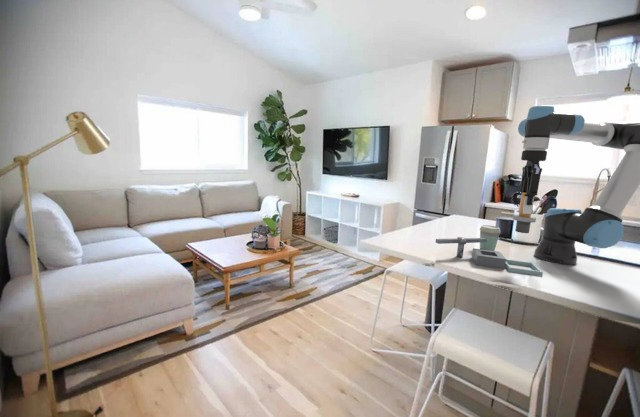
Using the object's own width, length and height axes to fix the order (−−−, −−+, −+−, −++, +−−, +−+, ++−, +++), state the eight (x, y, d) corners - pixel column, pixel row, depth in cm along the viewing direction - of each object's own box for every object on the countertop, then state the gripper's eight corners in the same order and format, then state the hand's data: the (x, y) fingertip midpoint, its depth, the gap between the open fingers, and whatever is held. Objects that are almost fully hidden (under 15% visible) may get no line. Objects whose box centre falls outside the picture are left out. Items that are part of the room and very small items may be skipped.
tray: (531, 268, 121) (532, 262, 120) (541, 278, 111) (543, 272, 110) (500, 264, 124) (501, 258, 124) (508, 273, 114) (509, 267, 113)
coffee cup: (500, 255, 136) (504, 230, 134) (479, 253, 137) (483, 228, 135) (493, 250, 144) (497, 225, 142) (474, 248, 146) (477, 224, 144)
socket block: (497, 262, 126) (499, 251, 125) (504, 271, 116) (506, 259, 115) (452, 256, 131) (453, 245, 130) (455, 264, 121) (456, 252, 120)
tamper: (530, 230, 118) (536, 192, 115) (535, 235, 111) (542, 195, 108) (509, 228, 120) (515, 191, 117) (513, 232, 114) (519, 193, 111)
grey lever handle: (479, 255, 133) (482, 236, 131) (485, 258, 129) (488, 238, 128) (432, 258, 127) (434, 237, 125) (437, 260, 123) (440, 240, 122)
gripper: (516, 150, 119) (508, 208, 123) (530, 149, 103) (520, 215, 108) (538, 150, 117) (529, 209, 121) (556, 149, 101) (544, 217, 105)
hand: (525, 212), depth 114 cm, fingers closed on tamper, 4 cm apart
